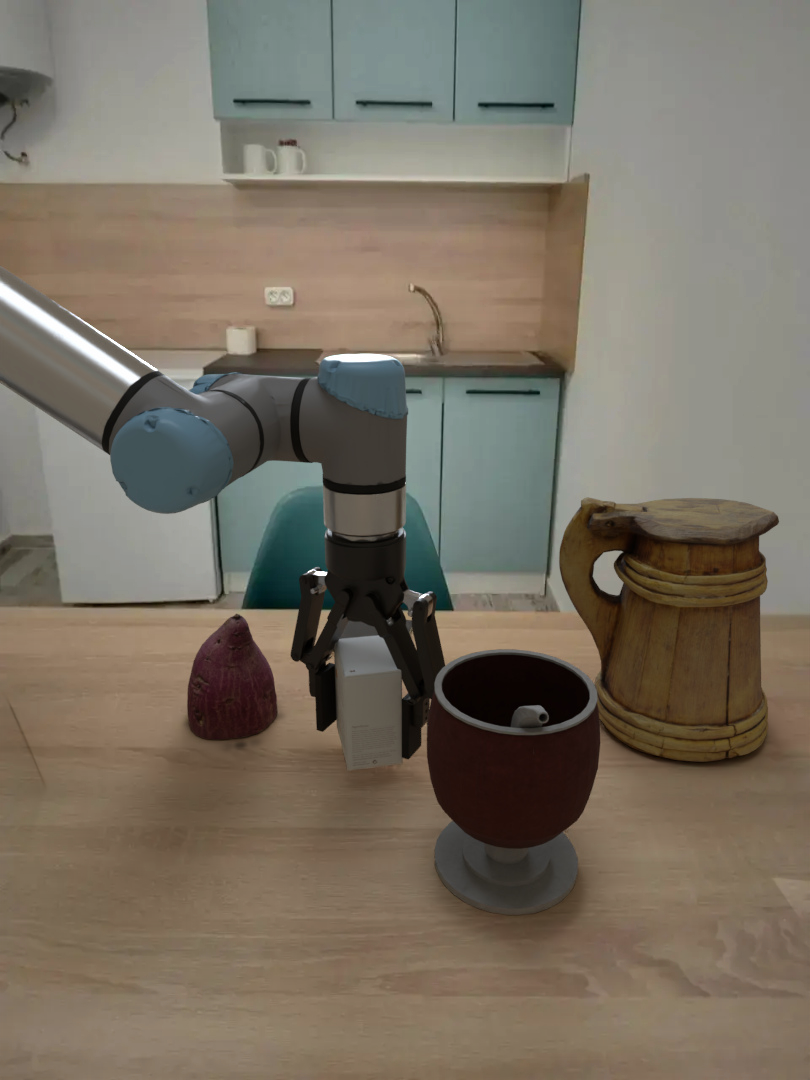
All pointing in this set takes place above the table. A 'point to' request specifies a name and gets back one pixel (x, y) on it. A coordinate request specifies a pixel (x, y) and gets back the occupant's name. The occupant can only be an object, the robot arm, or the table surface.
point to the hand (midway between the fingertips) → (368, 737)
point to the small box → (368, 703)
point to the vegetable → (230, 685)
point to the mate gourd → (511, 775)
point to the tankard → (675, 622)
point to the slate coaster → (365, 629)
